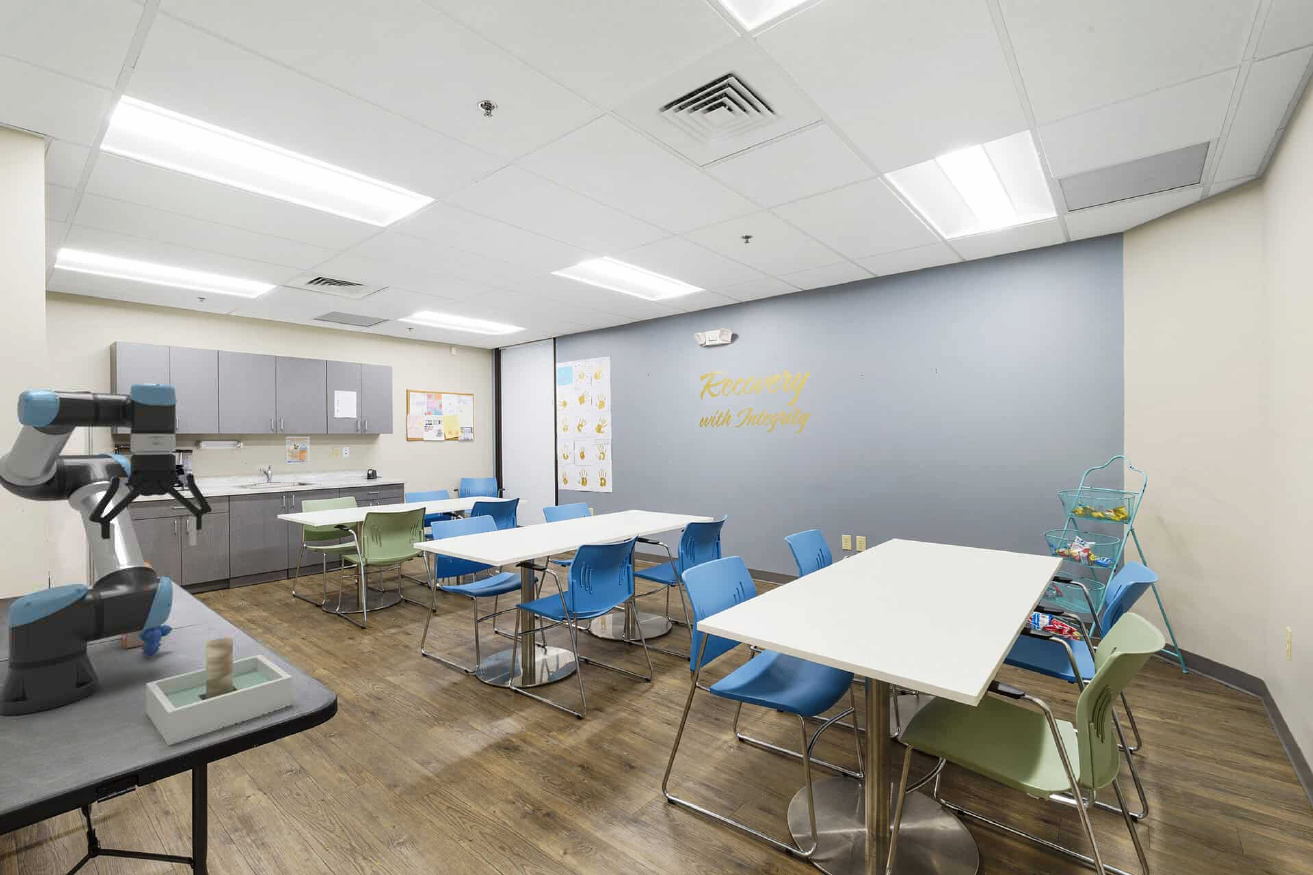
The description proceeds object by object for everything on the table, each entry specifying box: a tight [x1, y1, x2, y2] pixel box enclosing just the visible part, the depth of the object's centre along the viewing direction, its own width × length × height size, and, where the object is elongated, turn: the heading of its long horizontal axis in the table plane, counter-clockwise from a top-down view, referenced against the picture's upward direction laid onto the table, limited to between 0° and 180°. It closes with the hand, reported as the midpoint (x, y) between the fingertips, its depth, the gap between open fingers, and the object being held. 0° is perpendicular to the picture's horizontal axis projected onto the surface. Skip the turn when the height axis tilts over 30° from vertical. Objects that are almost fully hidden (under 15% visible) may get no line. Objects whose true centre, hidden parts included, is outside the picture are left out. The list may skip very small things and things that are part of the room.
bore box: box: [145, 654, 293, 746], centre depth 118 cm, size 20×20×6 cm
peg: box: [205, 637, 234, 699], centre depth 118 cm, size 4×4×14 cm
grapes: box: [138, 624, 173, 657], centre depth 148 cm, size 12×7×12 cm, turn 47°
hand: (153, 549), depth 126 cm, fingers open, 13 cm apart
